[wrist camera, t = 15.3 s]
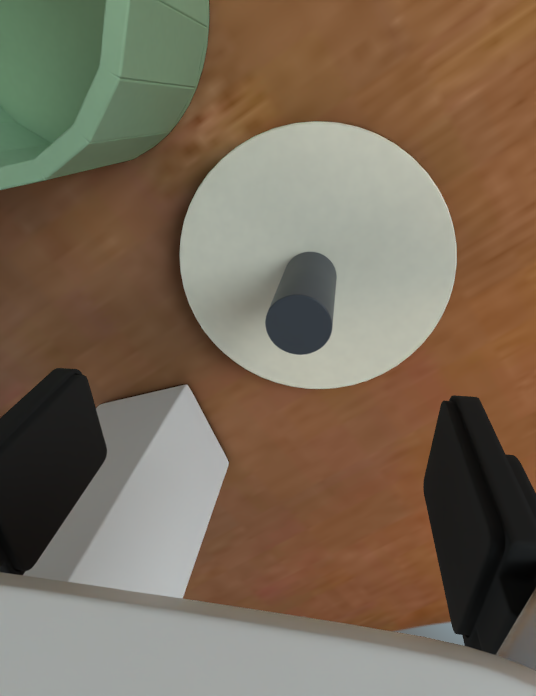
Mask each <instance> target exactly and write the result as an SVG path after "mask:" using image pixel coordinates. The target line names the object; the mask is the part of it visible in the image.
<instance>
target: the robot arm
mask: <svg viewBox="0 0 536 696" xmlns="http://www.w3.org/2000/svg"><path fill="white" fill-rule="evenodd" d="M106 456H107V447H106V443H105V440H104V436H103V432H102V429H101V425H100V422H99V418H98V415H97V411H96V408H95V404H94V401H93V397H92V393H91V390H90V386H89V383H88V380H87V377H86V376H84V375H82V373H81V372H80V371H79V370H77V369H64V368H57V369H55V370H53V371H52V372H51V373H50V374H49V375H47V376H46V377H45V378H44V379H43V380H42V381H41V382H40V383H39V384H38V385H36V386H35V387H34V388H33V389H32V390H31V391H30V392H29V393H28V394H27V395H25V396H24V397H23V398H22V399H21V400H20V401H19V402H18V403H17V404H15V405H14V406H13V407H12V408H11V409H10V410H9V411H8V412H7V413H6V414H4V415H3V416H2V417H1V418H0V696H536V493H535V491H534V489H533V487H532V485H531V483H530V481H529V479H528V477H527V475H526V473H525V471H524V469H523V467H522V465H521V463H520V462H519V460H518V459H517V458H516V457H515V456H513V455H505V453H504V451H503V449H502V446H501V444H500V442H499V440H498V438H497V436H496V434H495V432H494V429H493V427H492V425H491V423H490V421H489V419H488V417H487V414H486V412H485V410H484V408H483V406H482V404H481V402H480V400H479V398H477V397H467V396H451V398H450V400H449V401H443V402H442V404H441V407H440V412H439V416H438V420H437V425H436V429H435V433H434V438H433V442H432V447H431V451H430V455H429V460H428V464H427V469H426V473H425V477H424V496H425V500H426V505H427V510H428V515H429V519H430V524H431V529H432V533H433V538H434V543H435V548H436V552H437V557H438V562H439V567H440V571H441V576H442V581H443V585H444V590H445V595H446V600H447V604H448V609H449V614H450V619H451V623H452V627H453V630H454V632H455V633H456V634H461V635H463V639H464V643H465V646H462V645H458V644H453V643H449V642H444V641H440V640H435V639H430V638H426V637H421V636H415V635H409V634H403V633H398V632H392V631H386V630H380V629H374V628H368V627H363V626H357V625H351V624H345V623H339V622H332V621H326V620H319V619H313V618H306V617H300V616H293V615H287V614H280V613H274V612H267V611H261V610H254V609H248V608H241V607H235V606H228V605H222V604H215V603H208V602H202V601H195V600H188V599H182V598H175V597H168V596H161V595H155V594H148V593H141V592H134V591H128V590H121V589H114V588H107V587H100V586H94V585H87V584H80V583H73V582H65V581H58V580H51V579H44V578H37V577H30V576H23V574H24V573H25V571H28V570H30V569H31V568H33V566H34V565H35V564H36V562H37V561H38V559H39V558H40V556H41V555H42V553H43V552H44V550H45V549H46V547H47V546H48V544H49V543H50V542H51V540H52V539H53V537H54V536H55V534H56V533H57V531H58V530H59V528H60V527H61V525H62V524H63V522H64V521H65V519H66V518H67V516H68V515H69V513H70V512H71V510H72V509H73V507H74V506H75V504H76V503H77V501H78V500H79V498H80V497H81V495H82V494H83V492H84V491H85V489H86V488H87V487H88V485H89V484H90V482H91V481H92V479H93V478H94V476H95V475H96V473H97V472H98V470H99V469H100V467H101V466H102V464H103V463H104V461H105V459H106Z"/></svg>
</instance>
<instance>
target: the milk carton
mask: <svg viewBox="0 0 536 696" xmlns="http://www.w3.org/2000/svg"><path fill="white" fill-rule="evenodd" d="M96 411H97V415H98V418H99V422H100V425H101V429H102V432H103V436H104V440H105V443H106V447H107V456H106V459H105V461H104V463H103V464H102V466H101V467H100V469H99V470H98V472H97V473H96V475H95V476H94V478H93V479H92V481H91V482H90V484H89V485H88V487H87V488H86V489H85V491H84V492H83V494H82V495H81V497H80V498H79V500H78V501H77V503H76V504H75V506H74V507H73V509H72V510H71V512H70V513H69V515H68V516H67V518H66V519H65V521H64V522H63V524H62V525H61V527H60V528H59V530H58V531H57V533H56V534H55V536H54V537H53V539H52V540H51V542H50V543H49V544H48V546H47V547H46V549H45V550H44V552H43V553H42V555H41V556H40V558H39V559H38V561H37V562H36V564H35V565H34V566H33V568H31V569H30V570H28V571H25V573H24V574H23V576H30V577H37V578H44V579H51V580H58V581H65V582H73V583H80V584H87V585H94V586H100V587H107V588H114V589H121V590H128V591H134V592H141V593H148V594H155V595H161V596H168V597H175V598H183V595H184V593H185V590H186V587H187V584H188V581H189V578H190V575H191V572H192V569H193V566H194V564H195V561H196V558H197V555H198V552H199V549H200V546H201V543H202V540H203V537H204V535H205V532H206V529H207V526H208V523H209V520H210V517H211V514H212V511H213V509H214V506H215V503H216V500H217V497H218V494H219V491H220V488H221V485H222V482H223V480H224V477H225V474H226V471H227V468H228V465H229V462H228V459H227V457H226V455H225V454H224V452H223V450H222V448H221V446H220V444H219V442H218V440H217V438H216V436H215V435H214V433H213V431H212V429H211V427H210V425H209V423H208V421H207V419H206V418H205V416H204V414H203V412H202V410H201V408H200V406H199V404H198V402H197V400H196V399H195V397H194V395H193V393H192V391H191V389H190V388H189V386H188V385H181V386H177V387H173V388H168V389H164V390H160V391H155V392H151V393H147V394H142V395H138V396H134V397H130V398H125V399H121V400H117V401H112V402H108V403H104V404H100V405H99V406H98V407H97V408H96Z"/></svg>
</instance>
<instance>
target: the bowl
mask: <svg viewBox="0 0 536 696" xmlns="http://www.w3.org/2000/svg"><path fill="white" fill-rule="evenodd" d="M208 31H209V0H0V190H3V189H8V188H12V187H17V186H22V185H26V184H31V183H35V182H40V181H45V180H49V179H53V178H57V177H61V176H66V175H70V174H74V173H78V172H82V171H87V170H91V169H95V168H99V167H103V166H108V165H112V164H116V163H120V162H125V161H129V160H133V159H134V158H137V157H138V156H139V155H141V154H143V153H145V152H146V151H148V150H149V149H151V148H153V147H154V146H156V145H157V144H158V143H159V142H160V141H161V140H163V139H164V138H165V137H166V136H167V135H168V134H169V133H170V132H171V130H172V129H173V128H174V127H175V126H176V124H177V123H178V122H179V121H180V119H181V117H182V116H183V114H184V113H185V111H186V109H187V108H188V106H189V104H190V102H191V100H192V97H193V95H194V93H195V91H196V88H197V86H198V82H199V79H200V76H201V73H202V69H203V65H204V60H205V55H206V50H207V43H208Z"/></svg>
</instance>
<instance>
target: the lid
mask: <svg viewBox="0 0 536 696" xmlns="http://www.w3.org/2000/svg"><path fill="white" fill-rule="evenodd" d="M179 255H180V271H181V276H182V282H183V287H184V290H185V293H186V296H187V299H188V302H189V305H190V307H191V309H192V311H193V313H194V315H195V317H196V319H197V321H198V322H199V324H200V325H201V327H202V329H203V330H204V332H205V333H206V334H207V335H208V337H209V338H210V339H211V340H212V342H213V343H214V344H215V345H216V346H217V347H218V348H219V349H220V350H221V351H222V352H223V353H224V354H226V355H227V356H228V357H229V358H231V359H232V360H233V361H234V362H236V363H237V364H239V365H240V366H242V367H243V368H245V369H247V370H248V371H250V372H252V373H254V374H256V375H258V376H260V377H262V378H265V379H268V380H270V381H273V382H276V383H279V384H284V385H288V386H292V387H299V388H306V389H328V388H339V387H344V386H349V385H354V384H357V383H361V382H364V381H367V380H370V379H372V378H374V377H377V376H379V375H381V374H383V373H385V372H387V371H388V370H390V369H392V368H394V367H395V366H397V365H398V364H400V363H401V362H402V361H404V360H405V359H406V358H408V357H409V356H410V355H411V354H412V353H413V352H414V351H415V350H416V349H417V348H419V347H420V346H421V345H422V344H423V342H424V341H425V340H426V339H427V337H428V336H429V335H430V334H431V332H432V331H433V330H434V328H435V326H436V325H437V323H438V321H439V320H440V318H441V317H442V315H443V312H444V310H445V308H446V306H447V303H448V301H449V299H450V295H451V291H452V288H453V284H454V280H455V272H456V265H457V245H456V238H455V232H454V226H453V223H452V220H451V216H450V213H449V210H448V207H447V205H446V203H445V201H444V199H443V197H442V195H441V193H440V191H439V189H438V187H437V186H436V185H435V183H434V182H433V180H432V179H431V177H430V176H429V175H428V173H427V172H426V171H425V170H424V169H423V168H422V167H421V166H420V165H419V164H418V162H417V161H416V160H415V159H414V158H413V157H412V156H410V155H409V154H408V153H406V152H405V151H404V150H402V149H401V148H400V147H399V146H397V145H396V144H395V143H393V142H391V141H389V140H387V139H385V138H384V137H382V136H380V135H378V134H376V133H374V132H371V131H368V130H365V129H363V128H360V127H357V126H353V125H348V124H343V123H338V122H323V121H312V122H301V123H293V124H289V125H285V126H281V127H277V128H273V129H271V130H268V131H266V132H263V133H261V134H259V135H256V136H254V137H252V138H251V139H249V140H247V141H245V142H244V143H242V144H240V145H239V146H237V147H236V148H235V149H233V150H232V151H231V152H230V153H228V154H227V155H226V156H225V157H223V158H222V159H221V160H220V161H219V162H218V163H217V164H216V165H215V167H214V168H213V169H212V170H211V171H210V172H209V173H208V174H207V176H206V177H205V179H204V180H203V182H202V183H201V184H200V186H199V187H198V189H197V191H196V193H195V195H194V197H193V199H192V201H191V203H190V205H189V208H188V211H187V214H186V217H185V219H184V223H183V228H182V233H181V239H180V254H179Z"/></svg>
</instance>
